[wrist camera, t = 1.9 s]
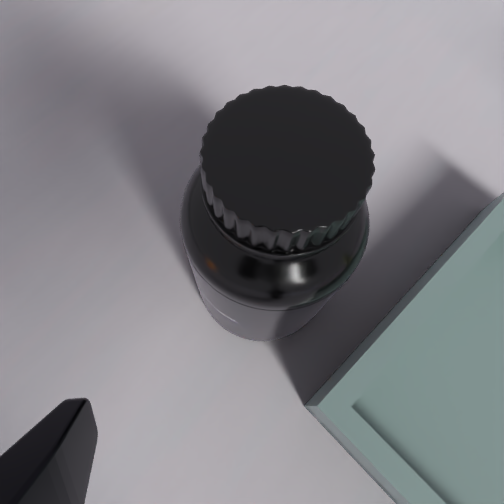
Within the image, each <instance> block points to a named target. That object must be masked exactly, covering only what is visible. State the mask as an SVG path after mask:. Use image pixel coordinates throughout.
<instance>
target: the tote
mask: <svg viewBox="0 0 504 504" xmlns="http://www.w3.org/2000/svg"><path fill="white" fill-rule="evenodd" d="M305 407H306V409H307V410H308V411H309V412H310V413H311V414H312V415H313V416H314V417H315V418H316V419H317V420H318V421H319V422H320V423H321V424H322V426H323V427H324V428H325V429H326V430H327V431H328V432H329V433H330V434H331V435H332V436H333V437H334V438H335V439H336V440H337V441H338V443H339V444H340V445H341V446H342V447H343V448H344V449H345V450H346V451H347V452H348V453H349V454H350V455H351V456H352V457H353V458H354V459H355V461H356V462H357V463H358V464H359V465H360V466H361V467H362V468H363V469H364V470H365V471H366V472H367V473H368V474H369V475H370V476H371V478H372V479H373V480H374V481H375V482H376V483H377V484H378V485H379V486H380V487H381V488H382V489H383V490H384V491H385V492H386V493H387V494H388V496H389V497H390V498H391V499H392V500H393V501H394V502H395V503H396V504H504V193H502V194H501V195H500V196H499V197H498V198H496V199H495V200H494V201H493V202H491V203H490V204H489V205H488V206H486V207H485V208H484V209H483V210H482V211H481V212H480V213H479V214H478V215H477V217H476V218H475V219H474V220H473V221H472V222H471V223H470V224H469V225H468V226H467V228H466V229H465V230H464V231H463V232H462V233H461V234H460V235H459V236H458V237H457V239H456V240H455V241H454V242H453V243H452V244H451V245H450V246H449V247H448V248H447V249H446V251H445V252H444V253H443V254H442V255H441V256H440V257H439V258H438V259H437V260H436V262H435V263H434V264H433V265H432V266H431V267H430V268H429V269H428V270H427V271H426V273H425V274H424V275H423V276H422V277H421V278H420V279H419V280H418V281H417V282H416V284H415V285H414V286H413V287H412V288H411V289H410V290H409V291H408V292H407V293H406V295H405V296H404V297H403V298H402V299H401V300H400V301H399V302H398V303H397V304H396V306H395V307H394V308H393V309H392V310H391V311H390V312H389V313H388V314H387V315H386V317H385V318H384V319H383V320H382V321H381V322H380V323H379V324H378V325H377V326H376V328H375V329H374V330H373V331H372V332H371V333H370V334H369V335H368V336H367V337H366V339H365V340H364V341H363V342H362V343H361V344H360V345H359V346H358V347H357V348H356V350H355V351H354V352H353V353H352V354H351V355H350V356H349V357H348V358H347V359H346V361H345V362H344V363H343V364H342V365H341V366H340V367H339V368H338V369H337V370H336V372H335V373H334V374H333V375H332V376H331V377H330V378H329V379H328V380H327V381H326V383H325V384H324V385H323V386H322V387H321V388H320V389H319V390H318V391H317V392H316V394H315V395H314V396H313V397H312V398H311V399H310V400H309V401H308V402H307V403H306V404H305Z"/></svg>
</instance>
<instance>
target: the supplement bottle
mask: <svg viewBox="0 0 504 504" xmlns="http://www.w3.org/2000/svg"><path fill="white" fill-rule="evenodd" d="M199 156H200V165H199V167H198V168H197V169H196V171H195V172H194V174H193V175H192V177H191V179H190V180H189V182H188V184H187V187H186V189H185V192H184V195H183V199H182V203H181V210H180V227H181V234H182V239H183V244H184V247H185V250H186V253H187V256H188V259H189V262H190V265H191V268H192V271H193V274H194V277H195V280H196V283H197V286H198V289H199V292H200V295H201V298H202V300H203V302H204V304H205V307H206V308H207V310H208V312H209V313H210V314H211V316H212V317H213V318H214V319H215V320H216V322H217V323H218V324H220V325H221V326H222V327H223V328H225V329H226V330H227V331H229V332H231V333H232V334H235V335H237V336H239V337H242V338H245V339H249V340H255V341H270V340H276V339H280V338H283V337H286V336H288V335H290V334H292V333H294V332H296V331H297V330H299V329H300V328H302V327H303V326H304V325H305V324H306V323H308V322H309V321H310V320H311V319H312V318H313V317H314V316H315V314H316V313H317V312H318V311H319V310H320V309H321V308H322V307H323V306H324V305H325V304H326V303H327V302H328V301H329V299H330V298H331V297H332V296H333V295H334V294H335V293H336V292H337V291H338V290H339V289H340V288H341V287H342V285H343V284H344V283H345V282H346V281H347V280H348V279H349V277H350V276H351V275H352V273H353V272H354V270H355V269H356V267H357V266H358V264H359V262H360V260H361V258H362V256H363V254H364V251H365V249H366V245H367V241H368V235H369V212H368V206H367V202H366V195H367V193H368V192H369V190H370V189H371V186H372V176H373V174H374V172H375V167H374V164H373V160H374V156H375V154H374V152H373V151H372V149H371V140H370V139H369V137H367V135H366V133H365V128H364V127H363V126H362V125H361V124H360V123H359V122H358V121H357V118H356V116H355V115H354V114H352V113H350V112H349V111H348V110H347V109H346V107H345V106H344V105H342V104H340V103H337V102H336V101H335V100H334V99H333V98H332V97H330V96H326V95H322V94H321V93H320V92H318V91H316V90H307V89H305V88H303V87H301V86H300V87H290V86H287V85H282V86H278V87H274V86H267V87H265V88H263V89H253V90H252V91H250V92H249V93H246V94H240V95H239V96H238V97H237V98H236V99H235V100H232V101H230V102H227V103H226V105H225V106H224V108H223V109H222V110H220V111H218V112H216V115H215V118H214V120H213V121H211V122H210V123H209V124H208V126H207V133H206V134H205V135H204V136H203V137H202V149H201V151H200V155H199Z"/></svg>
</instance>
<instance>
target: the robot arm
mask: <svg viewBox="0 0 504 504" xmlns="http://www.w3.org/2000/svg"><path fill="white" fill-rule="evenodd" d="M97 437H98V432H97V426H96V422H95V418H94V414H93V411H92V407H91V403H90V401H89V400H88V399H87V398H75V399H67V400H65V401H63V402H62V403H60V404H59V405H58V406H57V407H56V408H55V409H54V410H52V411H51V412H50V413H49V414H48V415H47V416H46V417H44V418H43V419H42V420H41V421H40V422H39V423H38V424H37V425H35V426H34V427H33V428H32V429H31V430H30V431H29V432H27V433H26V434H25V435H24V436H23V437H22V438H21V439H19V440H18V441H17V442H16V443H15V444H14V445H13V446H11V447H10V448H9V449H8V450H7V451H6V452H5V453H4V454H2V455H1V456H0V504H84V502H85V498H86V493H87V488H88V483H89V478H90V473H91V468H92V464H93V459H94V454H95V449H96V444H97Z"/></svg>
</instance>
